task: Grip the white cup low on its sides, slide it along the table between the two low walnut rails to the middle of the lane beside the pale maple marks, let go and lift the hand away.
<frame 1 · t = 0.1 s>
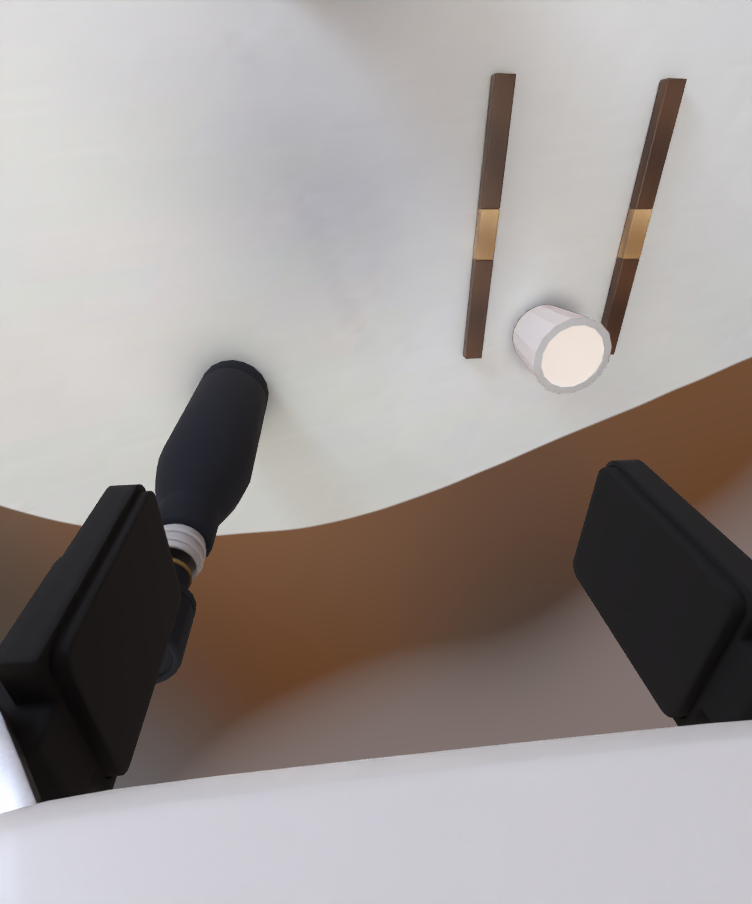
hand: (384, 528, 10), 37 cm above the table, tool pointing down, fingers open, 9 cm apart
wine bottle: (235, 390, 47), on the table
guide rails: (558, 233, 43), on the table
white cup: (539, 333, 48), on the table
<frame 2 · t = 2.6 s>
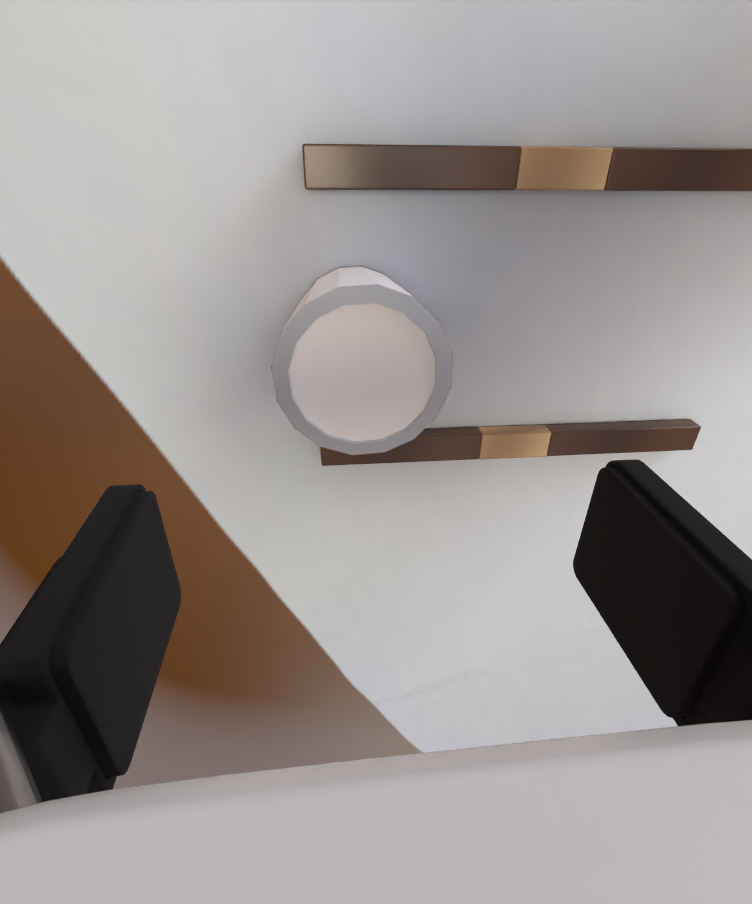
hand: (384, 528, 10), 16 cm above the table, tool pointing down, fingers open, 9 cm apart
guide rails: (529, 321, 25), on the table
white cup: (354, 324, 24), on the table
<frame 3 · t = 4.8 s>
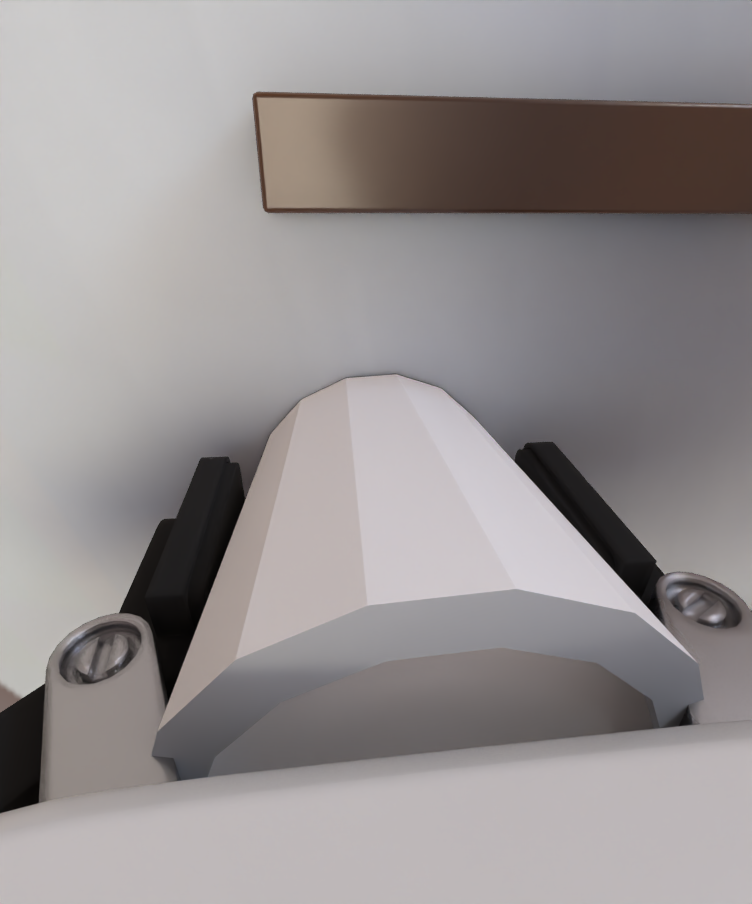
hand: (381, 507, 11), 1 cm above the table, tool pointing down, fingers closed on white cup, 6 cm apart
guide rails: (715, 463, 13), on the table
white cup: (375, 477, 12), on the table, touching gripper
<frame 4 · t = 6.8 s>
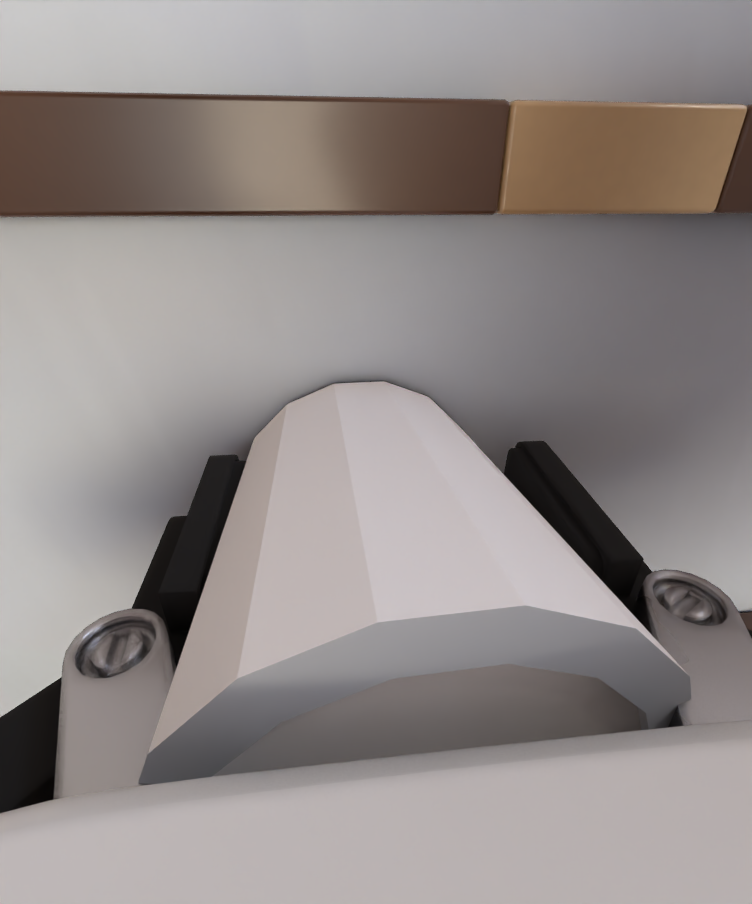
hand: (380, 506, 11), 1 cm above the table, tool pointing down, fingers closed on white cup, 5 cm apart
guide rails: (531, 473, 12), on the table
white cup: (358, 483, 12), on the table, touching gripper
when the fingers open (1 cm above the table, at t = 8.6 s): white cup stays where it is, on the table.
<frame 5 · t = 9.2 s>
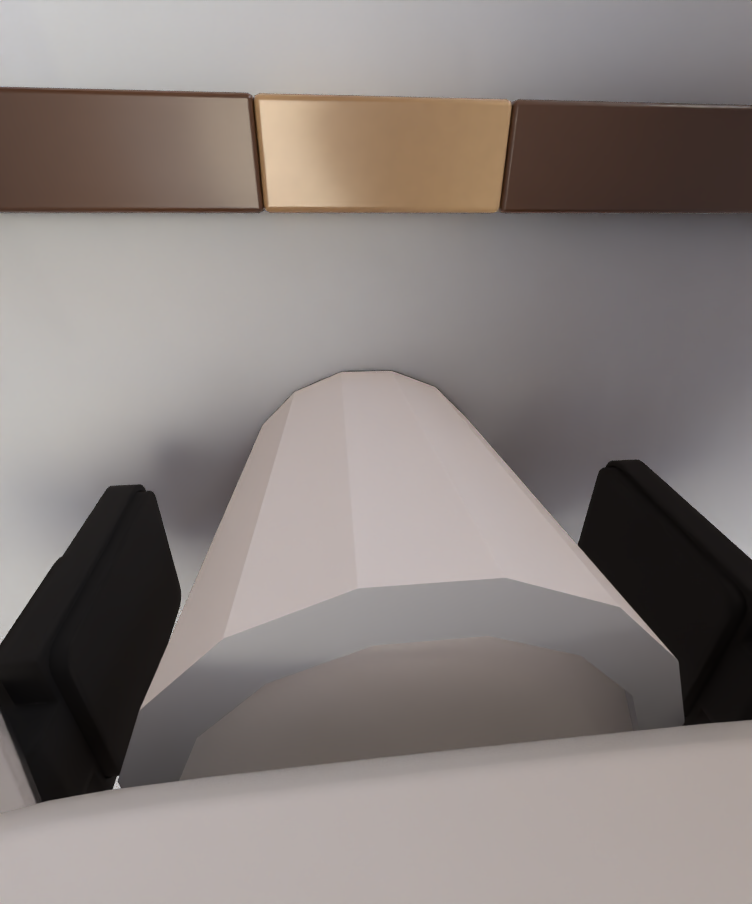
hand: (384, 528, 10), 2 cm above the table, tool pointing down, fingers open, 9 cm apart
guide rails: (375, 479, 12), on the table
white cup: (365, 473, 12), on the table
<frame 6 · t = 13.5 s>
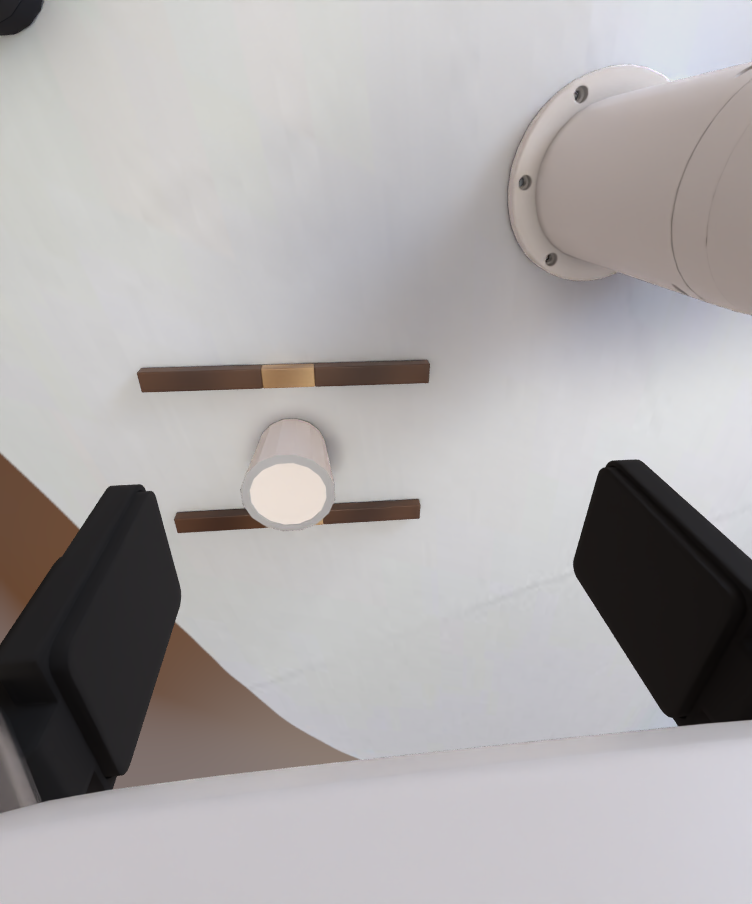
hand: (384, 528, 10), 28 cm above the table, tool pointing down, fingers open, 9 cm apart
guide rails: (295, 448, 41), on the table
white cup: (292, 446, 41), on the table
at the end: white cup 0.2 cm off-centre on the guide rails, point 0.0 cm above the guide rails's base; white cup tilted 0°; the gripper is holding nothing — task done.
